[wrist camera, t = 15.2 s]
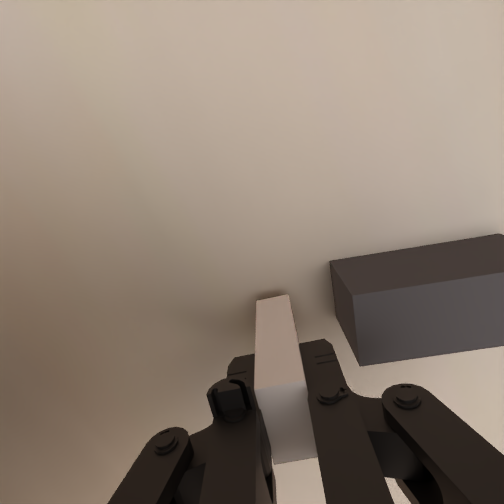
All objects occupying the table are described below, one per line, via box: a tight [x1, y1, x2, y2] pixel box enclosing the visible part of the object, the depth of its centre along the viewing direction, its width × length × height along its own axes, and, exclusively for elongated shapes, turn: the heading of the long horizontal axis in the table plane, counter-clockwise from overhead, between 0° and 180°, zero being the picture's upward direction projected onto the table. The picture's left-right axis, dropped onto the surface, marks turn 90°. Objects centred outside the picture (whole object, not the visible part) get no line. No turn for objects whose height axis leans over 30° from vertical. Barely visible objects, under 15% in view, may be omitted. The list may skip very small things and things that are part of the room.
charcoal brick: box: [330, 234, 504, 366], centre depth 16 cm, size 8×3×4 cm, turn 100°
